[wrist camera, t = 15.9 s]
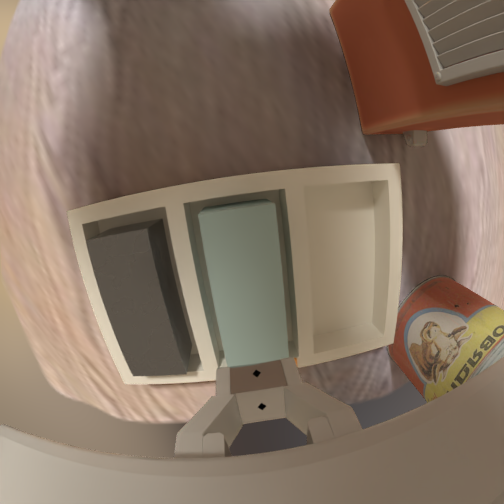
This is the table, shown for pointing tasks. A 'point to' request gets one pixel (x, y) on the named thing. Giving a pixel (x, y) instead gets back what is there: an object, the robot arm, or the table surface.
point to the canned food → (446, 336)
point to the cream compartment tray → (292, 259)
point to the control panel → (423, 63)
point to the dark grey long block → (142, 297)
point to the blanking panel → (246, 280)
